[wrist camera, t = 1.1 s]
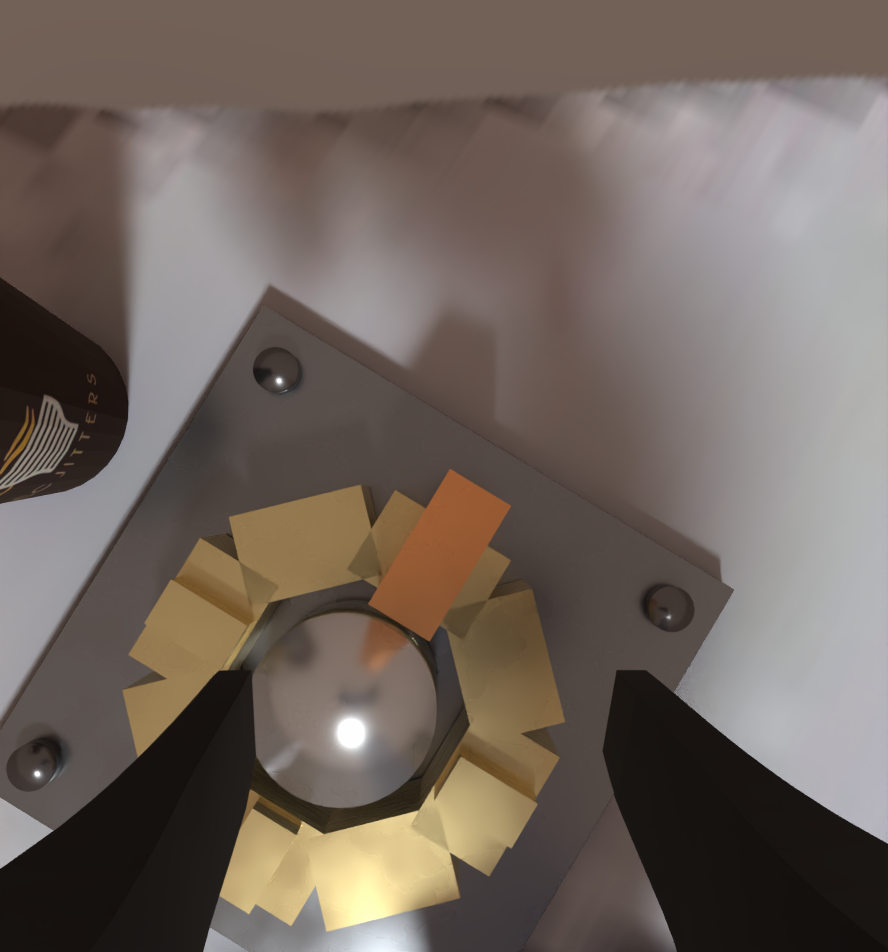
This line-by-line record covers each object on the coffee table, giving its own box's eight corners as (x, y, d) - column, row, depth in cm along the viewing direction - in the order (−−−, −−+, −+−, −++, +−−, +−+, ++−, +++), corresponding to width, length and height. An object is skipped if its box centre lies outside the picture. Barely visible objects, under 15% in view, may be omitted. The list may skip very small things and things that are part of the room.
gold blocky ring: (633, 586, 24) (689, 614, 18) (417, 950, 23) (409, 1087, 18) (311, 391, 24) (273, 361, 18) (92, 749, 24) (-13, 825, 18)
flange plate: (722, 585, 25) (784, 606, 20) (447, 1051, 24) (448, 1177, 20) (270, 312, 25) (232, 272, 21) (-11, 767, 25) (-112, 828, 20)
